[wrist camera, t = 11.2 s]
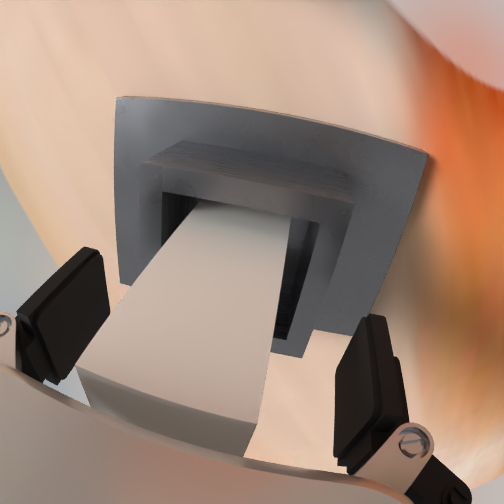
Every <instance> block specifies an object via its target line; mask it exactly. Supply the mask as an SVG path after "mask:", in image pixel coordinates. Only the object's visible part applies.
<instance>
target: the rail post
mask: <svg viewBox="0 0 504 504" xmlns="http://www.w3.org/2000/svg"><path fill="white" fill-rule="evenodd" d="M290 221H291V216H286V215H281V214H277V213H272V212H267V211H262V210H258V209H253V208H248V207H243V206H238V205H233V204H228V203H222V202H217V201H212V200H207V199H201V201H200V202H199V203H198V204H197V205H196V206H195V208H194V209H193V210H192V211H191V212H190V214H189V215H188V216H187V217H186V218H185V220H184V221H183V222H182V223H181V224H180V226H179V227H178V228H177V229H176V230H175V232H174V233H173V234H172V235H171V236H170V238H169V239H168V240H167V241H166V243H165V244H164V245H163V246H162V248H161V249H160V250H159V251H158V253H157V254H156V255H155V256H154V258H153V259H152V260H151V261H150V263H149V264H148V265H147V267H146V268H145V269H144V270H143V272H142V273H141V274H140V275H139V277H138V278H137V279H136V281H135V282H134V283H133V285H132V286H131V287H130V289H129V290H128V291H127V292H126V294H125V295H124V296H123V298H122V299H121V300H120V302H119V303H118V305H117V306H116V307H115V309H114V310H113V311H112V313H111V314H110V315H109V317H108V318H107V319H106V321H105V322H104V324H103V325H102V326H101V328H100V329H99V331H98V332H97V333H96V335H95V336H94V338H93V339H92V340H91V342H90V343H89V345H88V346H87V348H86V349H85V350H84V352H83V353H82V355H81V356H80V358H79V359H78V361H77V362H76V364H75V367H76V369H77V372H78V375H79V378H80V380H81V383H82V386H83V388H84V391H85V393H86V396H87V398H88V401H89V403H90V406H91V407H92V408H94V409H96V410H98V411H101V412H103V413H106V414H108V415H110V416H113V417H115V418H118V419H120V420H123V421H125V422H128V423H130V424H133V425H136V426H138V427H141V428H144V429H146V430H149V431H152V432H155V433H158V434H161V435H164V436H167V437H170V438H173V439H176V440H180V441H183V442H186V443H190V444H193V445H197V446H200V447H204V448H207V449H211V450H215V451H219V452H223V453H227V454H231V455H235V456H240V457H243V456H244V453H245V451H246V449H247V446H248V444H249V442H250V439H251V437H252V435H253V432H254V430H255V428H256V425H257V422H258V417H259V411H260V406H261V401H262V395H263V390H264V384H265V379H266V373H267V367H268V362H269V356H270V350H271V344H272V338H273V332H274V326H275V320H276V314H277V308H278V302H279V295H280V289H281V282H282V276H283V269H284V263H285V256H286V249H287V242H288V235H289V228H290Z"/></svg>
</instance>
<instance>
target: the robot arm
mask: <svg viewBox="0 0 504 504" xmlns="http://www.w3.org/2000/svg"><path fill="white" fill-rule="evenodd" d="M17 314H18V315H17V316H16V317H15V318H14V316H13V315H12V314H10V313H7V312H0V504H471V502H472V495H471V492H470V489H469V488H468V486H467V485H466V484H465V483H464V482H463V481H462V480H460V479H459V478H458V477H457V476H456V475H455V474H454V473H453V472H451V471H450V470H449V469H448V468H447V467H446V466H445V465H444V464H443V463H441V462H440V461H439V460H438V459H437V458H436V457H435V456H434V455H432V453H433V451H434V441H433V438H432V436H431V434H430V432H429V431H428V430H427V429H426V428H425V427H423V426H421V425H420V424H416V423H409V415H408V408H407V402H406V395H405V389H404V383H403V377H402V372H401V366H400V362H399V359H398V358H397V357H394V356H393V351H392V345H391V340H390V335H389V330H388V325H387V321H386V317H384V316H380V315H375V314H368V315H367V317H362V318H361V320H360V322H359V324H358V326H357V328H356V331H355V333H354V335H353V337H352V339H351V341H350V343H349V345H348V347H347V349H346V351H345V353H344V355H343V357H342V359H341V361H340V363H339V365H338V367H337V369H336V373H335V420H334V447H333V456H334V457H335V458H338V463H337V466H346V467H347V473H348V474H349V475H347V474H340V473H333V472H327V471H320V470H312V469H305V468H298V467H292V466H286V465H280V464H275V463H269V462H264V461H259V460H254V459H249V458H244V457H240V456H235V455H231V454H227V453H223V452H219V451H215V450H211V449H207V448H204V447H200V446H197V445H193V444H190V443H186V442H183V441H180V440H176V439H173V438H170V437H167V436H164V435H161V434H158V433H155V432H152V431H149V430H146V429H144V428H141V427H138V426H136V425H133V424H130V423H128V422H125V421H123V420H120V419H118V418H115V417H113V416H110V415H108V414H106V413H103V412H101V411H98V410H96V409H94V408H92V407H89V406H87V405H85V404H83V403H81V402H79V401H76V400H74V399H72V398H70V397H68V396H66V395H64V394H62V393H60V392H58V391H56V390H54V389H52V388H50V387H48V386H46V385H44V384H43V381H44V380H45V378H46V380H48V381H49V382H51V383H53V384H55V385H58V384H59V382H60V381H61V379H62V380H63V379H65V378H66V377H67V376H68V374H69V373H70V371H71V370H72V368H73V367H74V366H75V364H76V362H77V361H78V359H79V358H80V356H81V355H82V353H83V352H84V350H85V349H86V348H87V346H88V345H89V343H90V342H91V340H92V339H93V338H94V336H95V335H96V333H97V332H98V331H99V329H100V328H101V326H102V325H103V324H104V322H105V321H106V319H107V318H108V317H109V315H110V305H109V299H108V292H107V285H106V278H105V271H104V262H103V257H102V255H100V252H99V251H98V250H96V249H92V248H89V247H83V248H82V249H80V250H79V251H78V252H77V253H76V254H75V255H74V256H73V257H72V258H70V259H69V260H68V261H67V262H66V263H65V264H64V265H63V266H62V267H61V268H60V269H59V270H57V272H55V273H54V274H53V275H52V276H51V277H50V278H49V279H48V280H47V281H46V282H45V283H44V284H43V285H42V286H41V287H40V288H39V289H38V290H37V291H36V292H35V293H34V294H33V295H32V296H31V297H30V298H29V299H28V300H27V301H26V302H25V303H24V304H23V305H22V306H21V307H20V308H19V309H18V310H17Z"/></svg>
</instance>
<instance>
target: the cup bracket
mask: <svg viewBox="0 0 504 504" xmlns="http://www.w3.org/2000/svg"><path fill="white" fill-rule="evenodd" d="M427 157H428V154H427V153H426V152H424V151H423V150H421V149H418V148H415V147H412V146H409V145H406V144H403V143H399V142H396V141H393V140H390V139H386V138H383V137H380V136H376V135H373V134H369V133H366V132H362V131H358V130H354V129H351V128H347V127H343V126H339V125H335V124H331V123H326V122H322V121H318V120H313V119H308V118H304V117H299V116H294V115H289V114H284V113H278V112H273V111H267V110H261V109H255V108H249V107H242V106H235V105H228V104H220V103H212V102H203V101H194V100H183V99H171V98H157V97H137V96H123V97H117V98H116V112H115V136H114V199H115V223H116V240H117V254H118V265H119V276H120V283H122V284H126V285H129V286H132V285H133V283H134V282H135V281H136V279H137V278H138V277H139V275H140V274H141V273H142V272H143V270H144V269H145V268H146V267H147V265H148V264H149V263H150V261H151V260H152V259H153V258H154V256H155V255H156V254H157V253H158V251H159V250H160V249H161V248H162V246H163V245H164V244H165V243H166V241H167V240H168V239H169V238H170V236H171V235H172V234H173V233H174V232H175V230H176V229H177V228H178V227H179V226H180V224H181V223H182V222H183V221H184V220H185V218H186V217H187V216H188V215H189V214H190V212H191V211H192V210H193V209H194V208H195V206H196V205H197V204H198V203H199V202H200V201H201V199H207V200H212V201H217V202H222V203H228V204H233V205H238V206H243V207H248V208H253V209H258V210H262V211H267V212H272V213H277V214H281V215H286V216H291V221H290V228H289V235H288V242H287V249H286V256H285V263H284V269H283V276H282V282H281V289H280V295H279V302H278V308H277V314H276V320H275V326H274V332H273V338H272V344H271V350H270V352H273V353H278V354H283V355H288V356H293V357H298V358H302V357H303V354H304V352H305V349H306V347H307V344H308V341H309V339H310V336H311V334H312V331H313V329H316V330H321V331H326V332H332V333H337V334H343V335H348V336H353V335H354V333H355V331H356V328H357V326H358V324H359V322H360V320H361V318H362V317H367V315H368V314H369V312H370V309H371V307H372V305H373V303H374V301H375V298H376V296H377V294H378V292H379V289H380V287H381V285H382V282H383V280H384V278H385V275H386V273H387V271H388V268H389V266H390V263H391V261H392V258H393V256H394V253H395V251H396V248H397V246H398V243H399V241H400V238H401V235H402V233H403V230H404V227H405V224H406V222H407V219H408V216H409V213H410V210H411V208H412V205H413V202H414V199H415V196H416V193H417V190H418V187H419V183H420V180H421V177H422V174H423V171H424V167H425V164H426V161H427Z"/></svg>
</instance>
